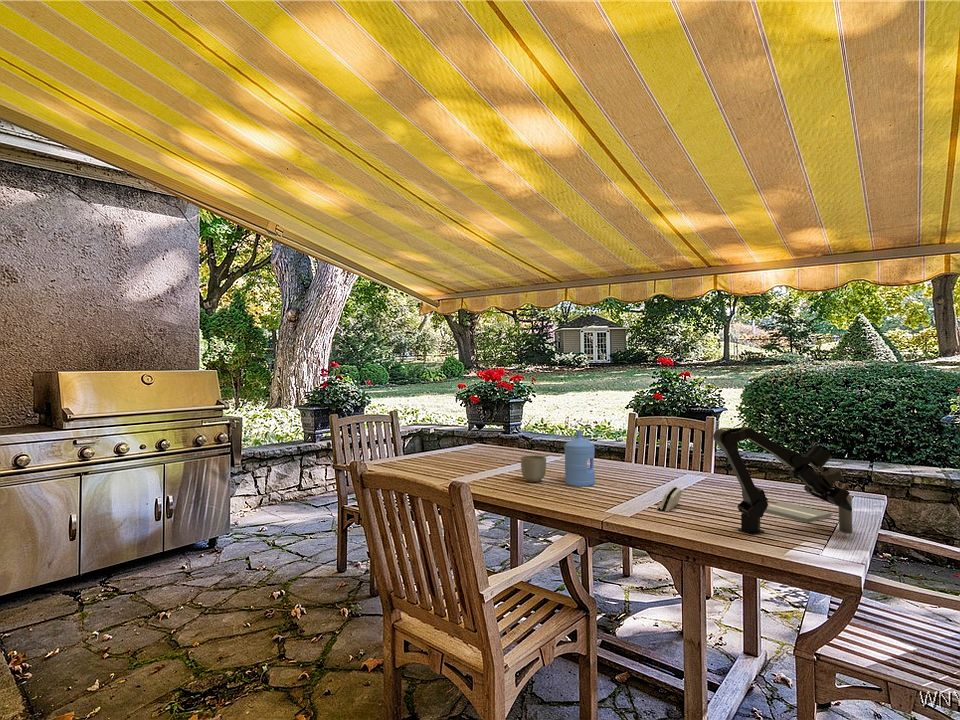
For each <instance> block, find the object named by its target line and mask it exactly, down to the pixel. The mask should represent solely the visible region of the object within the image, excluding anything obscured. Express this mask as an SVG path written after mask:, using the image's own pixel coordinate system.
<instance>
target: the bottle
mask: <svg viewBox="0 0 960 720" xmlns="http://www.w3.org/2000/svg"><path fill="white" fill-rule="evenodd" d="M852 497H853V495H850V494H849V495H848V497H847V500H848V502H849V504H850V506H851V508H852V509H853V499H852ZM838 530H840V531H842V532H841V533H844V532H846V533H845V534H852V532H854V531H853V530H854V529H853V510H852V511H848V510H846V509H843V508H841V507H839V506H838ZM840 531H839V532H840Z"/></svg>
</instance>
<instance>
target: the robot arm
mask: <svg viewBox="0 0 960 720" xmlns="http://www.w3.org/2000/svg"><path fill="white" fill-rule="evenodd" d="M712 439H713V440H714V442H715V444H716V445H717V446H718V448H720V450H721V451H722V452H723V453H724V455H725V456H726V458H727V460H728V462H729V464H730V466H731V469H732V471H733V472H734V475H735V477H736V479H737V481H738V483H739V485H740V487H741V496H742V501H741V502H740V503H739V504H737V509H738V512H740V513H741V514H740V517H741V518H740V519H741V520H740V521H741V522H740V523H741V524H740V525H741V526H740V527H739V528H737V531H739V532H744V533H747V534H751V535H757V534H760V533H761V534H762V533H764V532H765V530H763V529H761V519H762V518H763V517H764V513H765V512H764V511H765V510H766V509H767V506H768V505H769V502H768V501H769V498H767V496H766V493H765V491H764V490H763V489H762V488H760V487H757V486H755V483H754V482H753V479H752V477H751V475H750V473H749V471H748V469H747V467H746V464H745V463H744V460H743V457H741V454H740V451H739V443H740V442H742V441H745V440H748V441H751V442H752V443H754V444H756V445H757V446H759V447H761V448H762V449H764V450H766V451H767V452H769V453H770V454H772V455H773V456H774V458H776V460H777V461H778V462H780V463H781V464H783V465H785V466H788V467H790V469H789V473H788V476H789V477H791V478H794V479H796V478H797V477H798V478H799V479H800V480H802V481H803V484H804V485H803V487H804V488H803V489H804V491H805V493H807V494H808V495H810V496H813V497H815V498H817V499H820V500H822V501H824V502H826V503H829V504H831V505H835V506H837V507H838V508H839V507H841V508H843V509H846V510H848V511H852V512H853V507H852V508H851V506H850V504H849V502H848V500H847V497H848V495H850V493H851V492H850V491H849V490H847V489H846V488H844V487H841V486H835V482H837V481H839V480H843V479H844V476H843V474H842V473H841V470H840V469H838V468H835V467H829V468H828V467H826V466H825V465H826V464H827V463H828V462H829V461H830V460H831V459H832V458H833V456H832V454H831V453H830V452H829V451H826V450H825V448H822V447H820V446H819V445H818V444H813V445H812V447H811V448H810V449H809V451H808V452H807V453H806V454H803V453H800V452H797V451H795V450H793V449H789V448H787V447H784V446H781V445H779V444H778V443H776V442H775V441H773V440H771V438H769V437H766V436H765V435H763V434H761V433H760V432H758V431H757V430H755V429H754V428H753V427H750V426H741V427H736V428H729V429H727V428H726V429H724V428H719V429H716V430H715V431H714V433H713V436H712ZM791 468H792V469H791ZM818 468H819V469H820V473H819V472H818V471H817V470H816V469H818ZM834 486H835V487H834ZM833 487H834V488H833Z"/></svg>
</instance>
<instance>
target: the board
mask: <svg viewBox="0 0 960 720" xmlns="http://www.w3.org/2000/svg"><path fill="white" fill-rule="evenodd" d="M764 513H768V514H771V515H775V516H778V517H779V516H780V517H783V518H788V519H791V520H795V521H798V522H803V523H807V524H808V523H812V522H816V521H821V520H823V519H824V520H825V519H827V518H828V517H829V518H832V512H828V511H823V510H820V509H815V508H809V507H805V506H801V505H796V504H792V503H787V502H783V501H782V502H781V501H780V502H776V503H771V504H768V506H767V509H766V510H765V511H764Z"/></svg>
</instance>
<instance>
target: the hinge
mask: <svg viewBox="0 0 960 720" xmlns="http://www.w3.org/2000/svg"><path fill="white" fill-rule="evenodd" d="M682 493H683V490H682V489H681V488H679V487H677V486H671V487H670V488H669V489H667V490H666V492H665V494H664V496H663V498H662V501H661V503H660V504H658V505H657V506H656V509H655V511H659V510H661V511H662V510H664V512H666V511H668V512H670V511H671V510H672V509H673V508H675V507H676V506H677V505H678V504H679V502H680V500H681V496H682ZM675 505H676V506H675ZM674 506H675V507H674ZM659 508H660V509H659ZM670 509H671V510H670ZM669 510H670V511H669Z"/></svg>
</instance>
